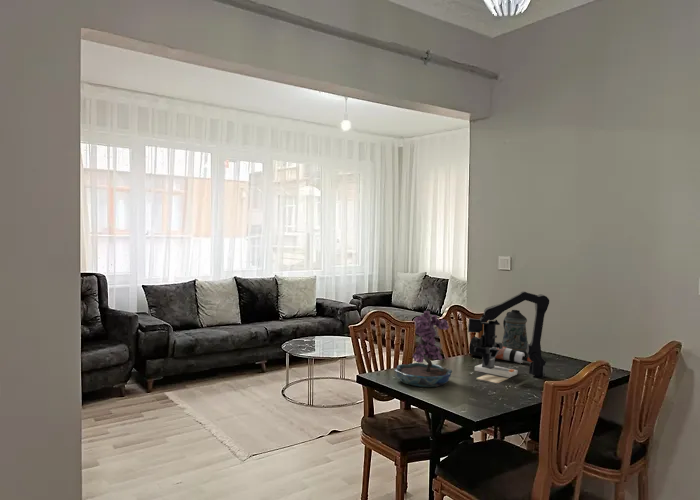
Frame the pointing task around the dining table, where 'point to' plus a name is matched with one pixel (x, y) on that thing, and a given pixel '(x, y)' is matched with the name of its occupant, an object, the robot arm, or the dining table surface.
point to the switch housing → (497, 371)
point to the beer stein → (515, 331)
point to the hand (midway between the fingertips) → (488, 364)
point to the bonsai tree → (425, 356)
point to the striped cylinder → (503, 354)
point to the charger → (490, 364)
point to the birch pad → (491, 378)
